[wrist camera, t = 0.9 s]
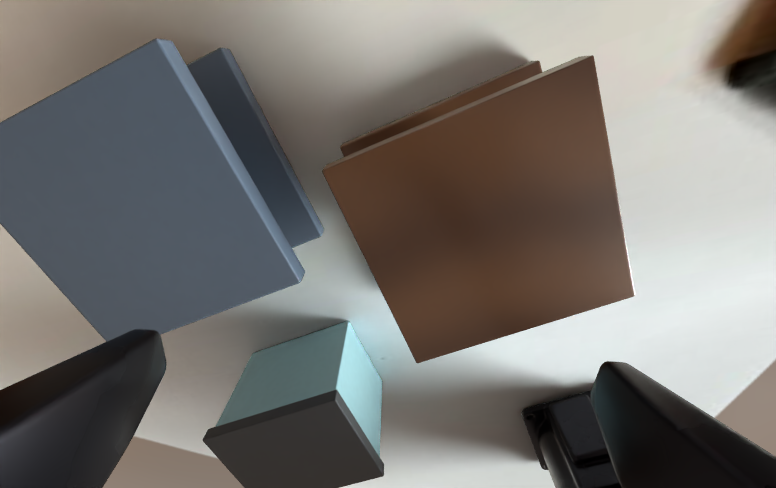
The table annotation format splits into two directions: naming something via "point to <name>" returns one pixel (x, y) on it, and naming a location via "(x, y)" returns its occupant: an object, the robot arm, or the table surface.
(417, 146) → the brown square pedestal
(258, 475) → the container
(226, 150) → the blue-grey square pedestal
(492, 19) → the table surface
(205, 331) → the table surface
